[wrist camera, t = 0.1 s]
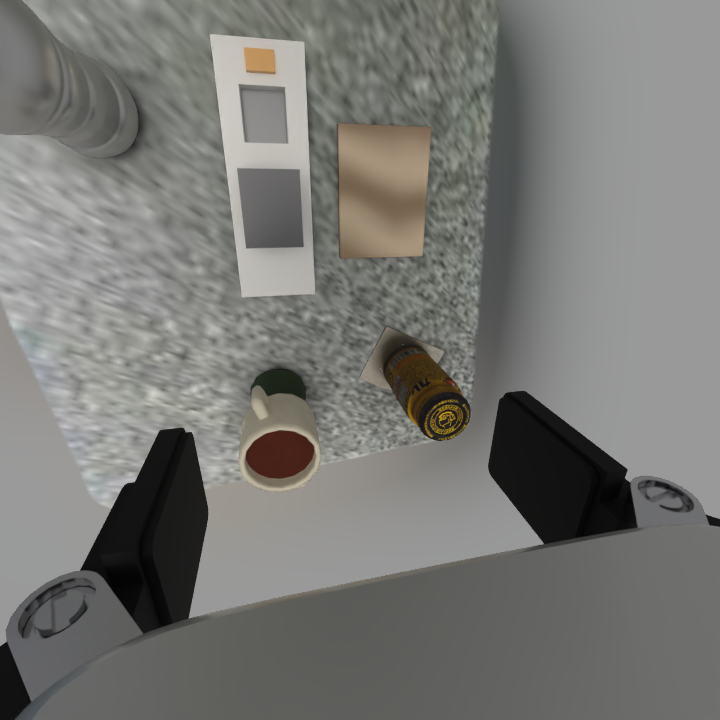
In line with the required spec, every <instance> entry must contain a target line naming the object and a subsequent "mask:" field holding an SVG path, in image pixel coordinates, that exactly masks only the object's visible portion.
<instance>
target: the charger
mask: <svg viewBox="0 0 720 720" xmlns="http://www.w3.org/2000/svg"><path fill="white" fill-rule="evenodd" d="M237 173H238V182H239V190H240V199H241V208H242V217H243V226H244V235H245V244H246V248H289V247H304V243H303V224H302V205H301V186H300V169H255V168H237Z"/></svg>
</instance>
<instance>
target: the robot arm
mask: <svg viewBox="0 0 720 720" xmlns="http://www.w3.org/2000/svg"><path fill="white" fill-rule="evenodd" d="M488 468H489V472H490V475H491V476H492V478H493V479H494V480H495V481H496V483H497V484H498V485H499V487H500V488H501V489H502V491H503V492H504V493H505V494H506V495H507V497H508V498H509V499H510V501H511V502H512V503H513V505H514V506H515V507H516V508H517V510H518V511H519V512H520V513H521V515H522V516H523V517H524V519H525V520H526V521H527V522H528V524H529V525H530V526H531V527H532V529H533V530H534V531H535V533H536V534H537V535H538V536H539V538H540V539H541V540H542V541H543V543H544V544H543V545H538V546H533V547H527V548H522V549H517V550H512V551H507V552H501V553H496V554H491V555H486V556H481V557H476V558H471V559H466V560H461V561H456V562H450V563H445V564H441V565H435V566H431V567H426V568H420V569H415V570H410V571H405V572H400V573H396V574H391V575H385V576H381V577H376V578H371V579H366V580H362V581H356V582H351V583H347V584H341V585H337V586H332V587H327V588H323V589H317V590H312V591H308V592H302V593H298V594H293V595H288V596H283V597H279V598H274V599H270V600H265V601H261V602H256V603H252V604H248V605H243V606H238V607H234V608H230V609H225V610H220V611H216V612H213V613H209V614H205V615H201V616H197V617H193V618H189V613H190V608H191V603H192V598H193V593H194V587H195V582H196V577H197V572H198V567H199V562H200V557H201V552H202V547H203V541H204V536H205V532H206V527H207V521H208V505H207V501H206V496H205V491H204V486H203V481H202V476H201V471H200V466H199V461H198V457H197V452H196V447H195V442H194V437H193V434H192V432H187V433H186V432H185V430H184V428H175V429H166V430H160V431H159V433H158V435H157V437H156V439H155V441H154V443H153V445H152V448H151V450H150V452H149V454H148V456H147V458H146V460H145V462H144V464H143V466H142V468H141V471H140V473H139V475H138V477H137V479H136V481H135V482H133V483H127V484H126V485H124V487H123V488H122V490H121V492H120V494H119V495H118V497H117V499H116V501H115V503H114V505H113V507H112V509H111V511H110V513H109V515H108V517H107V519H106V521H105V523H104V525H103V527H102V529H101V531H100V533H99V535H98V536H97V538H96V540H95V543H94V544H93V546H92V548H91V550H90V552H89V554H88V556H87V558H86V560H85V562H84V564H83V566H82V568H81V570H80V571H75V572H71V573H68V574H65V575H62V576H59V577H57V578H55V579H53V580H51V581H49V582H47V583H46V584H44V585H43V586H41V587H40V588H38V589H37V590H36V591H34V592H33V593H32V594H30V595H29V597H28V598H26V599H25V600H24V601H23V602H22V603H21V604H20V605H19V607H18V608H17V609H16V611H15V612H14V614H13V615H12V617H11V618H10V621H9V624H8V626H7V629H6V636H7V642H6V643H4V644H3V645H2V646H0V720H720V519H718V518H714V517H711V516H708V515H705V512H704V510H703V507H702V505H701V504H700V502H699V501H698V499H697V498H696V497H695V496H694V495H693V494H691V493H690V492H689V491H687V490H686V489H684V488H683V487H681V486H679V485H677V484H675V483H673V482H670V481H668V480H665V479H661V478H658V477H652V476H639V477H636V478H634V479H633V480H632V481H631V483H630V482H628V481H627V480H626V479H625V476H626V473H627V469H626V468H625V467H624V466H622V465H621V464H620V463H618V462H617V461H616V460H614V459H613V458H612V457H610V456H609V455H608V454H607V453H605V452H604V451H603V450H601V449H600V448H599V447H598V446H596V445H595V444H593V443H592V442H591V441H590V440H588V439H587V438H586V437H585V436H583V435H582V434H581V433H579V432H578V431H577V430H575V429H574V428H573V427H571V426H570V425H569V424H568V423H566V422H565V421H564V420H562V419H561V418H560V417H558V416H557V415H556V414H554V413H553V412H552V411H550V410H549V409H548V408H547V407H545V406H544V405H543V404H541V403H540V402H539V401H538V400H536V399H535V398H534V397H532V396H531V395H530V394H528V393H527V392H525V391H517V392H508V393H506V394H505V395H504V397H503V398H501V399H500V400H499V405H498V411H497V416H496V422H495V429H494V434H493V440H492V446H491V452H490V458H489V464H488ZM188 618H189V619H188Z"/></svg>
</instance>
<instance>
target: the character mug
mask: <svg viewBox="0 0 720 720" xmlns="http://www.w3.org/2000/svg"><path fill="white" fill-rule="evenodd" d="M305 399H306V387H305V385H304V383H303V381H302V379H301V378H300V377H299V376H297V375H296V374H294V373H293V372H292V371H286V370H281V369H278V370H273V371H268V372H265V373H264V374H262V375H260V376H259V377H257V378H256V380H255V381H254V383H253V385H252V387H251V408H250V409H249V410H248V412H247V413H246V415H245V416H244V418H243V421H242V435H241V438H240V445H239V462H238V463H239V469H240V472H241V474H242V477H243V478H244V479H245V480H246V481H247V482H248V483H249V484H251V485H252V486H254V487H256V488H259V489H262V490H264V491H271V492H284V491H288V490H292V489H296V488H298V487H301V488H303V487H304V486H305V485H306V482H308V481H309V480H310V479H311V478H312V477H313V476H314V474H315V473H316V471H317V470H318V468H319V465H320V461H321V457H322V455H321V449H320V444H319V438H318V433H317V428H316V423H315V419H314V414H313V411H312V409H311V407H310V406H309V405H308V404H307V403H306V402H305Z"/></svg>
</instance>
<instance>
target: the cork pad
mask: <svg viewBox="0 0 720 720" xmlns="http://www.w3.org/2000/svg"><path fill="white" fill-rule="evenodd" d="M337 133H338V193H339V253H340V258H374V257H409V256H422V254H423V240H424V225H425V211H426V196H427V182H428V167H429V153H430V138H431V127H411V126H387V125H364V124H340V123H338V124H337Z"/></svg>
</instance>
